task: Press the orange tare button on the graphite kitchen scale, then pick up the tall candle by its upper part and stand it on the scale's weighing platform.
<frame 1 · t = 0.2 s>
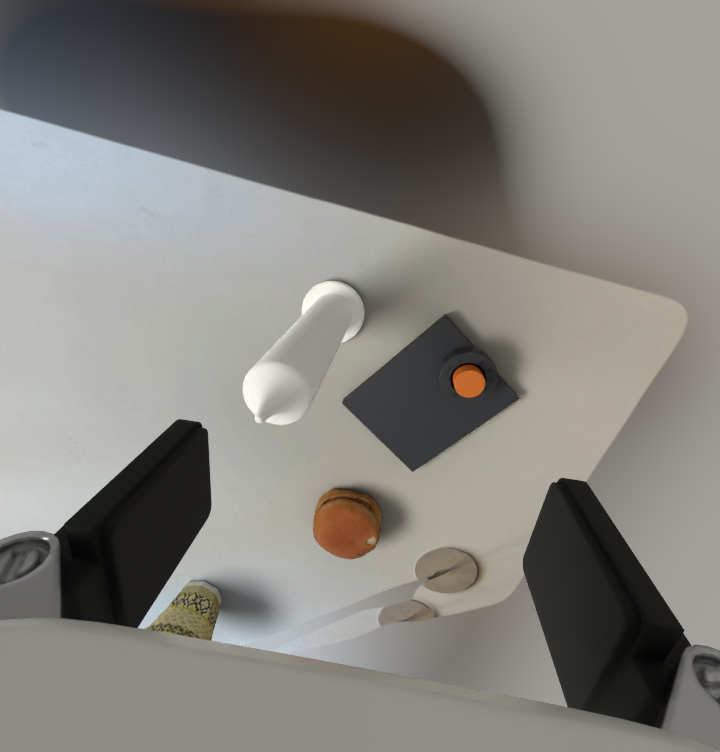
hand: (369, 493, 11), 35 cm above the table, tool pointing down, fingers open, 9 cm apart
candle: (333, 311, 45), on the table
tare button: (468, 381, 43), point 3 cm above the table, slide at 0.1 cm
burger: (350, 512, 57), on the table
scale: (427, 396, 48), on the table
ceramic cup: (195, 593, 67), on the table
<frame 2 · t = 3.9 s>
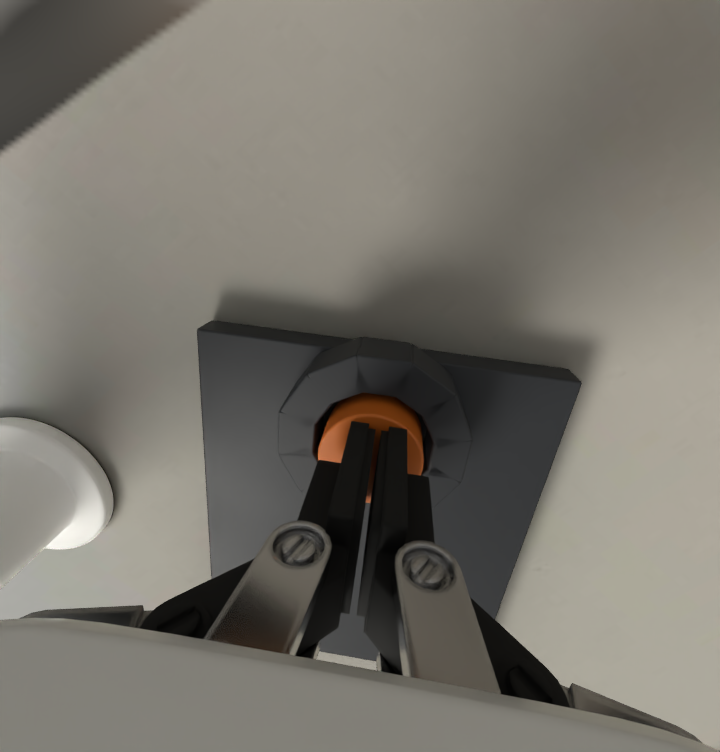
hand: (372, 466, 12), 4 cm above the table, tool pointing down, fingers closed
candle: (46, 478, 19), on the table
tare button: (372, 445, 13), point 3 cm above the table, slide at -0.5 cm, touching gripper
scale: (361, 514, 18), on the table
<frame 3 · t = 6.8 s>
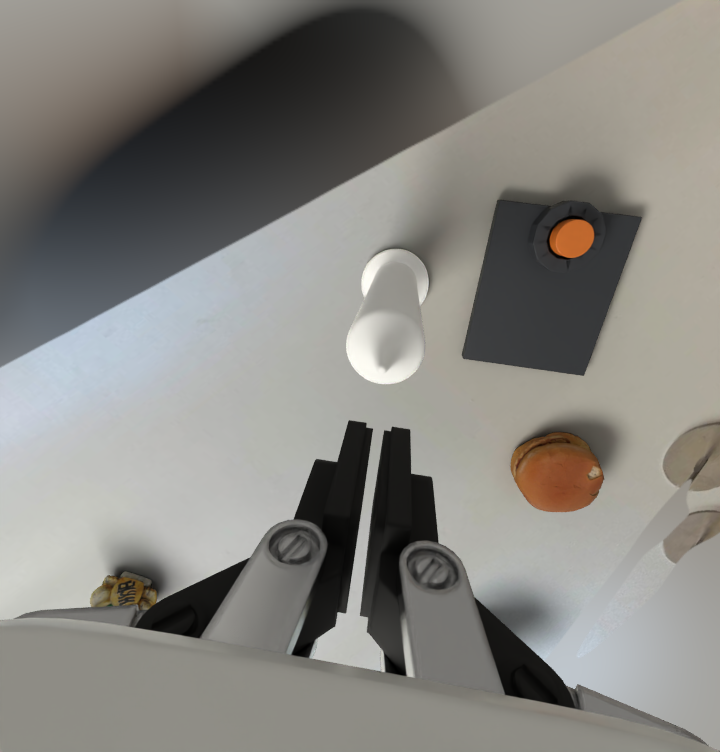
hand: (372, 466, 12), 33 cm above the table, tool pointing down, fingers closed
candle: (395, 282, 42), on the table
decorative figurine: (138, 586, 66), on the table
tare button: (571, 238, 36), point 3 cm above the table, slide at 0.1 cm
burger: (550, 461, 49), on the table
scale: (541, 291, 41), on the table
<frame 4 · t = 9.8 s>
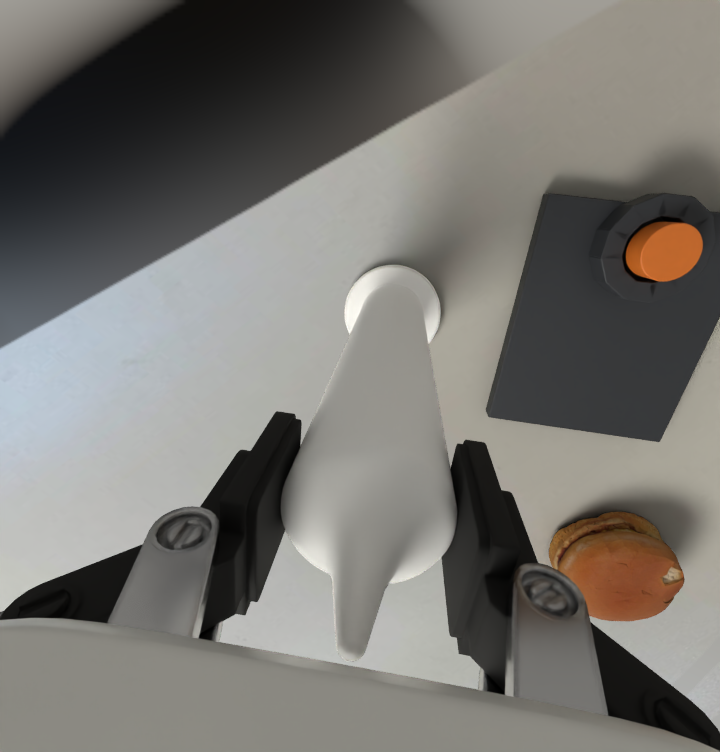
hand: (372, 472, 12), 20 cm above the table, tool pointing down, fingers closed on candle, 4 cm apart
candle: (392, 312, 30), on the table, touching gripper
tare button: (662, 251, 23), point 3 cm above the table, slide at 0.1 cm
burger: (603, 546, 36), on the table
scale: (602, 325, 29), on the table
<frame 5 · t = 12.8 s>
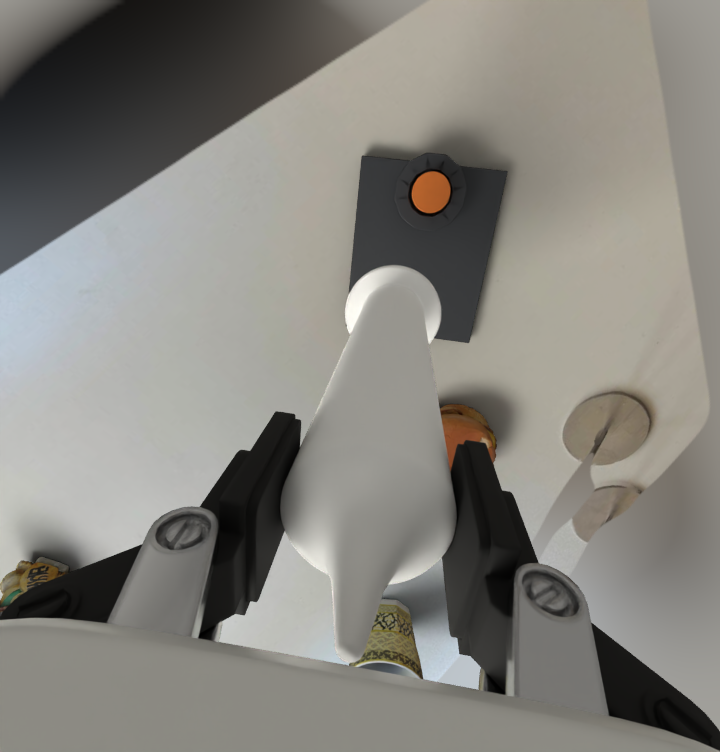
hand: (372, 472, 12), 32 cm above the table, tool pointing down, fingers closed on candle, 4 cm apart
candle: (392, 312, 30), point 12 cm above the table, touching gripper
decorative figurine: (56, 572, 65), on the table
tare button: (430, 192, 34), point 3 cm above the table, slide at 0.1 cm
burger: (450, 435, 47), on the table
scale: (418, 254, 40), on the table
ceramic cup: (381, 616, 60), on the table
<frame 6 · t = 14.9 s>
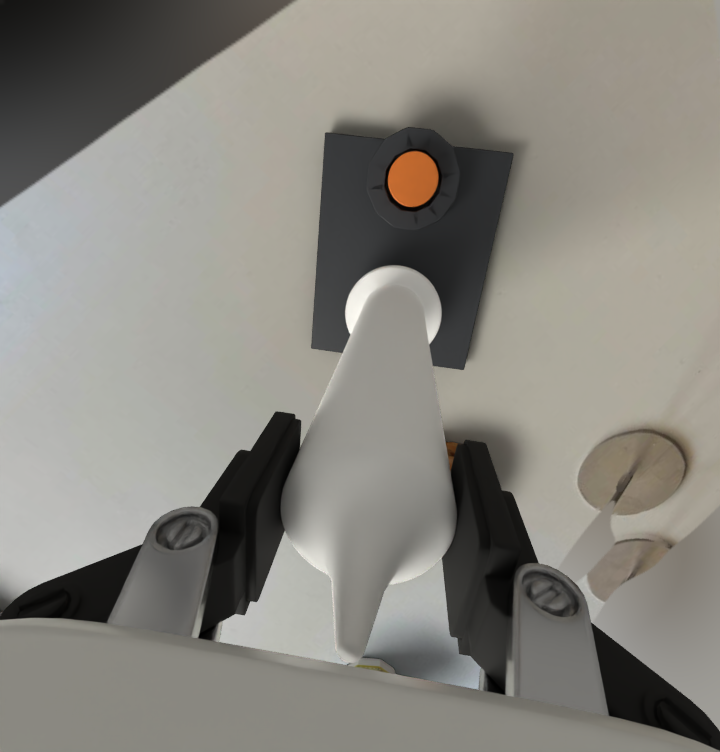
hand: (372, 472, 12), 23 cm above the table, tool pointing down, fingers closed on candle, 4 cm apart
candle: (393, 312, 30), point 3 cm above the table, touching gripper
tare button: (412, 180, 26), point 3 cm above the table, slide at 0.1 cm
scale: (401, 260, 31), on the table
ceramic cup: (363, 676, 52), on the table
when the fingers open (21 cm above the table, at t = 15.9 s): candle stays where it is, resting on scale.
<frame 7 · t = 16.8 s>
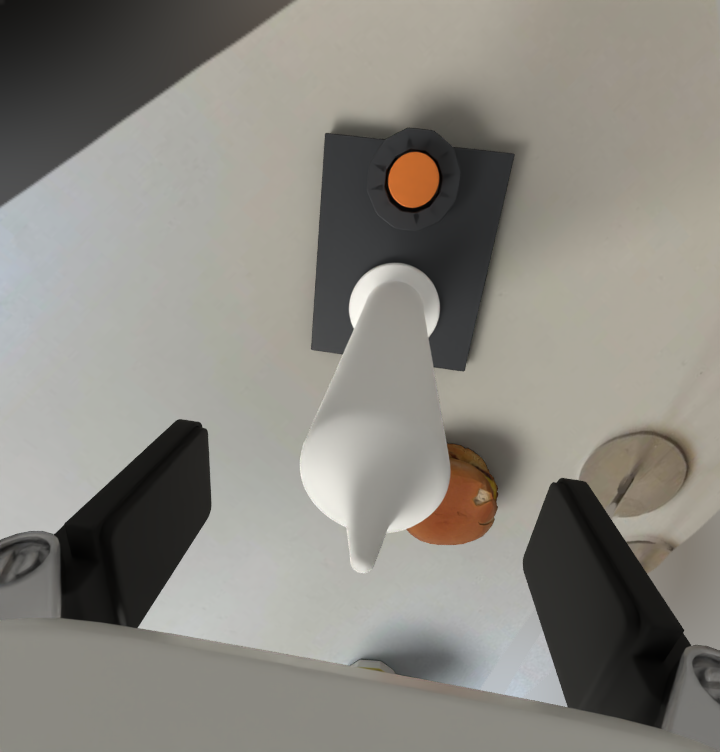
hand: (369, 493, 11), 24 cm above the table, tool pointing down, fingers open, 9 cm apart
candle: (394, 307, 32), point 1 cm above the table, touching scale
tare button: (413, 181, 26), point 3 cm above the table, slide at 0.1 cm
burger: (441, 479, 39), on the table
scale: (401, 261, 31), on the table
ceramic cup: (363, 678, 52), on the table
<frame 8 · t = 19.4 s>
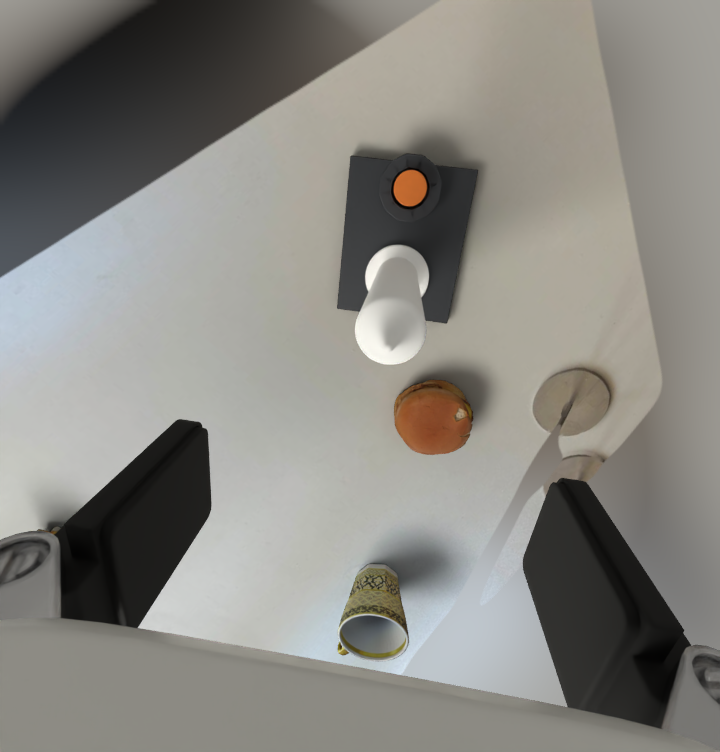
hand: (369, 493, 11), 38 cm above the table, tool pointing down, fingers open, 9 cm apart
candle: (396, 277, 45), point 1 cm above the table, touching scale
tare button: (410, 188, 39), point 3 cm above the table, slide at 0.1 cm
burger: (432, 409, 52), on the table
scale: (402, 244, 45), on the table
ceramic cup: (371, 581, 66), on the table
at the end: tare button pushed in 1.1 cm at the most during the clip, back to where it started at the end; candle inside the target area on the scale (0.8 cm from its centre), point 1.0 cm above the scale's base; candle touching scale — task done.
